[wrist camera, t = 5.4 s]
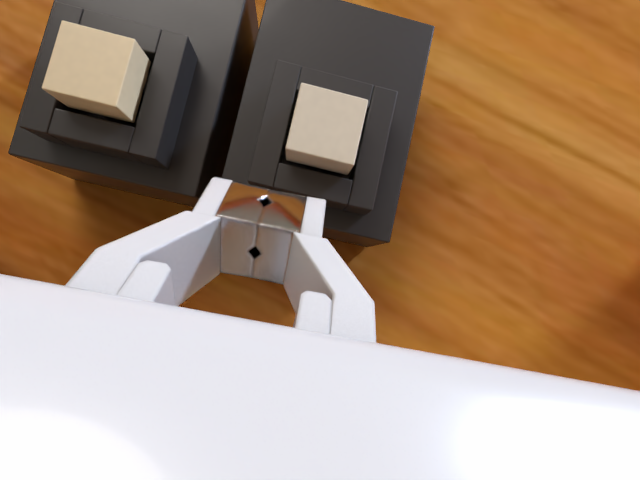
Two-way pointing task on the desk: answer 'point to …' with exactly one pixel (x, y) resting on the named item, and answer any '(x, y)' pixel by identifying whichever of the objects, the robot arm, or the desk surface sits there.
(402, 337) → the desk surface
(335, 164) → the low key
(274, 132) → the low key box
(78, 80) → the high key
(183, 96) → the high key box
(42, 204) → the desk surface
